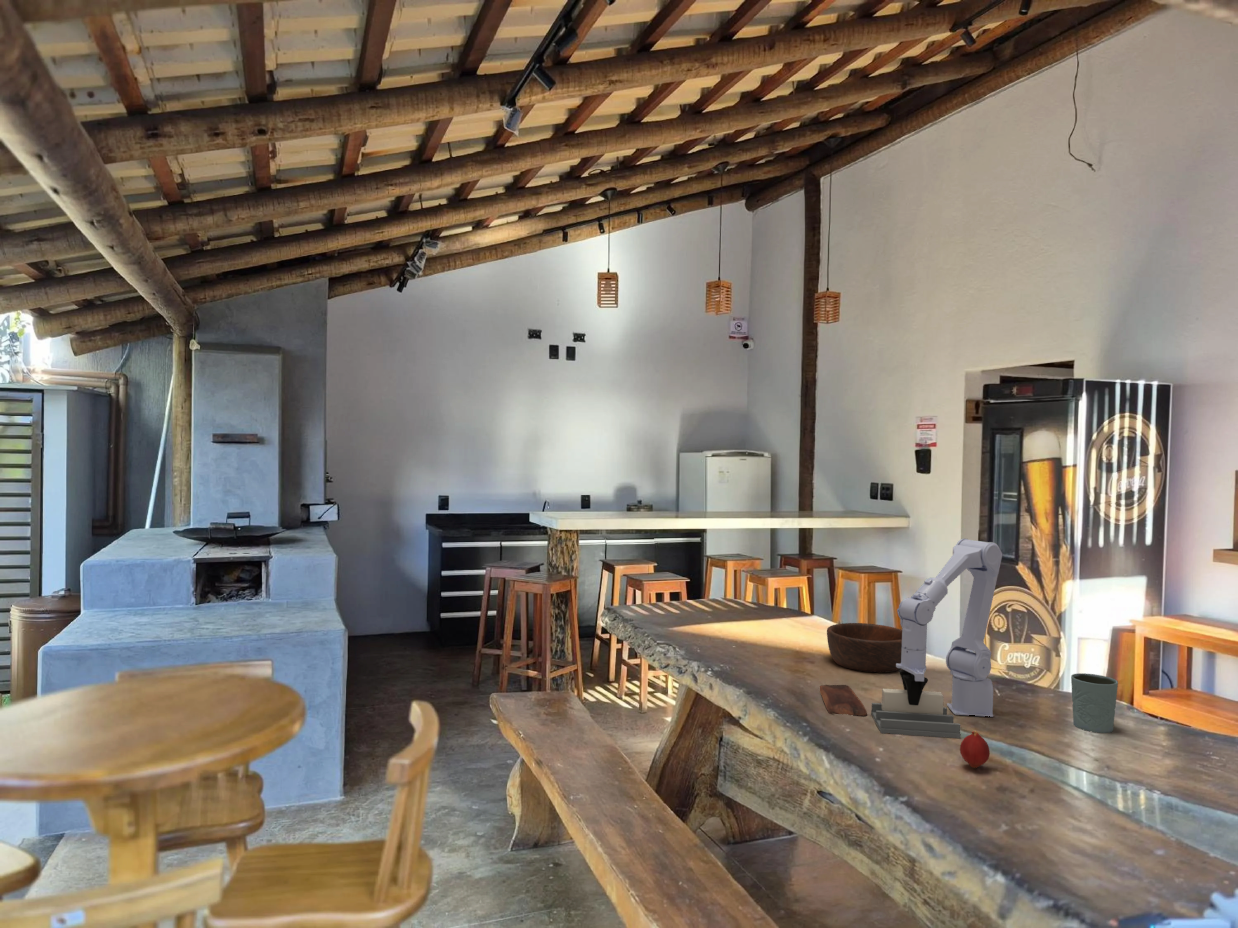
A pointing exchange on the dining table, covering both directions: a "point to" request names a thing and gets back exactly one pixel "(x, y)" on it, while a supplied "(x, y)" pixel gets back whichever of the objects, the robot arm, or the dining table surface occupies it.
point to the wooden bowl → (865, 646)
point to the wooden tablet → (842, 700)
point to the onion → (974, 750)
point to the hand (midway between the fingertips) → (911, 702)
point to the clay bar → (899, 703)
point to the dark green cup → (1094, 702)
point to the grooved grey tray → (915, 723)
